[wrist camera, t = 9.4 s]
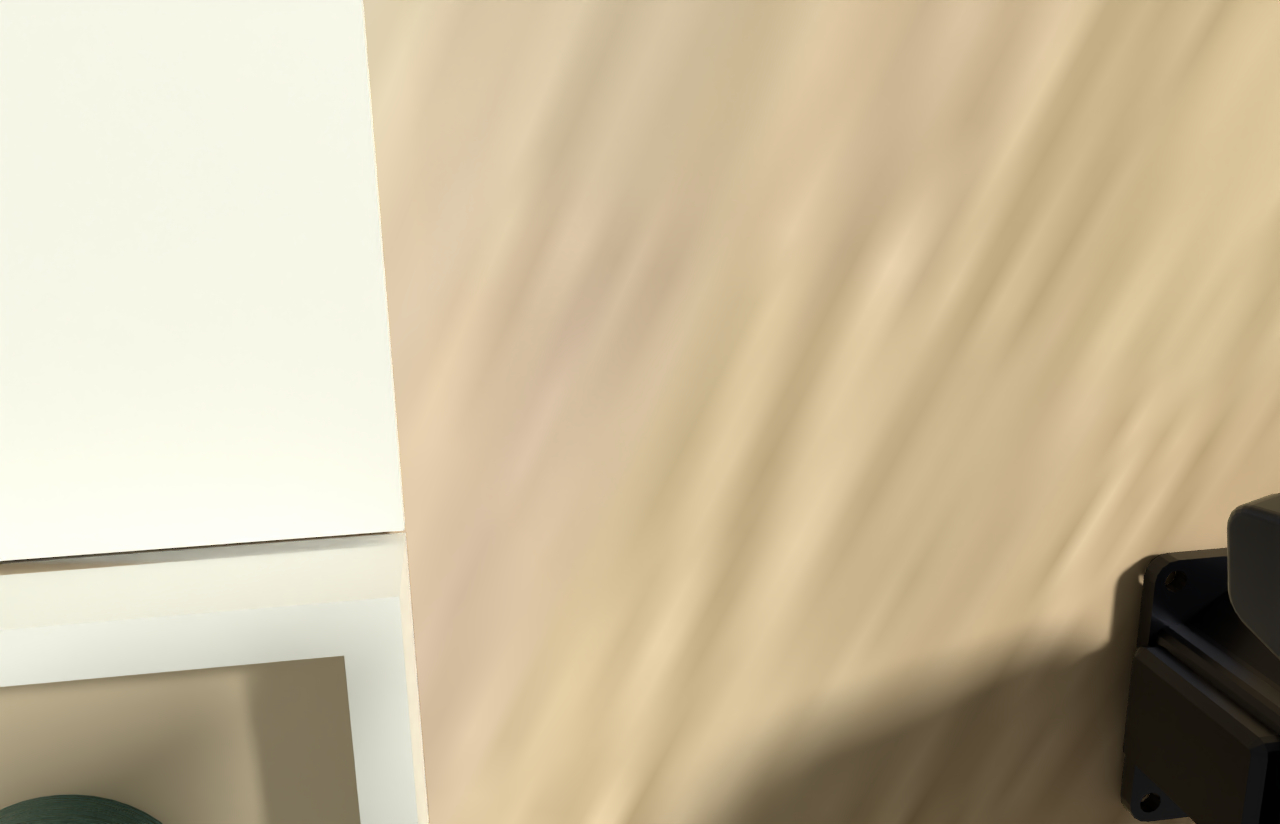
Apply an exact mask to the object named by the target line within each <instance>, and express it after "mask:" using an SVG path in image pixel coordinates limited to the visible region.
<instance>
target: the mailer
mask: <svg viewBox="0 0 1280 824" xmlns="http://www.w3.org/2000/svg"><path fill="white" fill-rule="evenodd" d="M404 527H405V518H404V505H403V493H402V480H401V468H400V455H399V443H398V430H397V418H396V405H395V393H394V380H393V368H392V355H391V343H390V330H389V318H388V305H387V293H386V280H385V268H384V255H383V243H382V230H381V218H380V205H379V193H378V180H377V168H376V155H375V143H374V130H373V117H372V105H371V92H370V80H369V67H368V55H367V42H366V30H365V17H364V5H363V0H0V561H6V560H20V559H33V558H46V557H59V556H72V555H85V554H99V553H112V552H125V551H138V550H151V549H165V548H178V547H191V546H204V545H217V544H231V543H244V542H257V541H270V540H283V539H297V538H310V537H323V536H336V535H349V534H363V533H376V532H389V531H402V530H404ZM76 794H77V795H88V796H97V797H102V798H107V799H112V800H115V801H118V802H121V803H124V804H128V805H130V806H132V807H135V808H137V809H139V810H141V811H144V812H146V813H147V814H149V815H151V816H152V817H154V818H156V819H157V820H159V821H160V822H161V823H163V824H429V818H428V805H427V793H426V780H425V768H424V755H423V743H422V730H421V718H420V705H419V693H418V680H417V668H416V655H415V643H414V630H413V618H412V605H411V593H410V580H409V568H408V555H407V543H406V533H393V534H380V535H367V536H354V537H341V538H327V539H314V540H301V541H288V542H275V543H262V544H249V545H235V546H222V547H209V548H196V549H183V550H170V551H157V552H143V553H130V554H117V555H104V556H91V557H78V558H65V559H51V560H38V561H25V562H12V563H0V810H1V809H3V808H5V807H8V806H11V805H14V804H16V803H19V802H22V801H26V800H30V799H34V798H38V797H45V796H53V795H76Z"/></svg>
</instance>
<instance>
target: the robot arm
mask: <svg viewBox="0 0 1280 824" xmlns="http://www.w3.org/2000/svg"><path fill="white" fill-rule="evenodd" d="M1175 571H1176V574H1175V577H1174V579H1173V580H1172V581H1171V582H1170V583H1169V584H1166V585H1165V582H1166V579H1167V577H1168V576H1169V575H1170V574H1171V573H1172V572H1175ZM1123 752H1124V754H1125V758H1124V767H1123V776H1122V786H1121V802H1122V804H1123V806H1124V807H1125V808H1126V809H1127V810H1128V811H1129V812H1130V813H1131V815H1132V816H1133V817H1134V818H1136V819H1138V820H1140V821H1146V822H1149V821H1157V820H1165V819H1173V818H1181V817H1190V818H1191V819H1192V820H1193V821H1194V822H1195V823H1196V824H1280V493H1277V494H1271V495H1268V496H1265V497H1262V498H1260V499H1257V500H1254V501H1251V502H1249V503H1246V504H1243V505H1240V506H1238V507H1237V508H1236V509H1235V510H1233V511H1232V513H1231V515H1230V517H1229V519H1228V523H1227V548H1220V549H1209V550H1197V551H1186V552H1174V553H1166V554H1162V555H1159V556H1158V557H1156V558H1155V559H1153V560H1152V561H1151V563H1150V564H1149V565H1148V567H1147V568H1146V571H1145V575H1144V582H1143V591H1142V600H1141V609H1140V619H1139V628H1138V637H1137V647H1136V653H1135V655H1134V657H1133V661H1132V670H1131V679H1130V689H1129V698H1128V707H1127V717H1126V726H1125V735H1124V745H1123ZM1147 794H1149V797H1148V798H1146V799H1145V800H1144V801H1142V802H1141V800H1142V798H1143V797H1144V796H1146V795H1147Z"/></svg>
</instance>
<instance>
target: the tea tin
mask: <svg viewBox="0 0 1280 824" xmlns="http://www.w3.org/2000/svg"><path fill="white" fill-rule="evenodd" d="M0 824H163V823H161V822H160V821H159V820H157V819H156V818H154V817H152V816H151V815H149V814H147V813H146V812H144V811H141V810H139V809H137V808H135V807H132V806H130V805H128V804H124V803H121V802H118V801H115V800H112V799H107V798H102V797H97V796H88V795H77V794H76V795H53V796H45V797H38V798H34V799H30V800H26V801H22V802H19V803H16V804H14V805H11V806H8V807H5V808H3V809H1V810H0Z"/></svg>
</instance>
